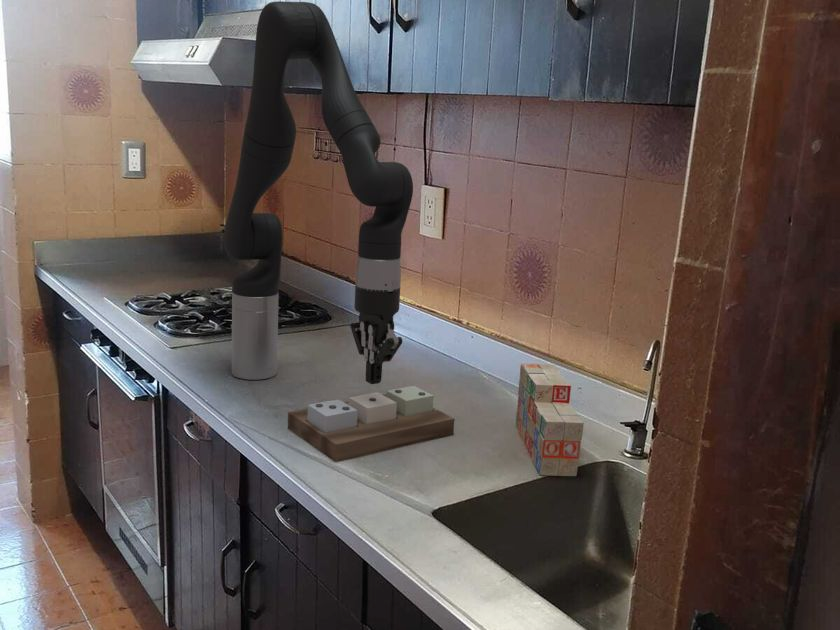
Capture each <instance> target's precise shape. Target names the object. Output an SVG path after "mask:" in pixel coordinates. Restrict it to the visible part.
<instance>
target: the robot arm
mask: <svg viewBox="0 0 840 630" xmlns="http://www.w3.org/2000/svg"><path fill="white" fill-rule="evenodd" d="M305 59H306V60H309V61H310V63H311V64H312V65H313V67H314V68H315V70H316V71H317V73H318V75H319V77H320V81H321V107H320V108H321V116H322V119H323V122H324V125H325V127H326V129H327V131H328V133H329V135H330V137H331V138H332V140H333V142H334V144H335V146H336V147H337V149H338V151H339V153H340V154H341V159H342V163H343V167H344V171H345V175H346V179H347V183H348V186H349V188H350V190H351V193H352V194H353V196H354V197H355V198H356V199H357V200H358V201H359V202H360V203H361V204H362V205H364V206H366V207H370V208H371V207H374V208H375V209H374V212H373V215H372V217H370V218H369V219H368V220H365V221H364V222H362V224H361V225H360V226H359V230H358V231H359V232H358V247H357V249H358V250H357V260H356V261H357V262H356V267H355V281H354V283H355V284H354V285H355V287H354V309H355V311H356V312H358V313H359V314H358V320H357V321H356V322H351V323H350V326H349V327H350V329H351V332H352V336H353V340H354V342H355V345H356V349H357V352H358V354H359V355H360V356H363V359H364V361H365V381H366V382H367V383H368V384H370V385H377V384H380V383H381V382H382V376H383V375H382V374H383V363H385V362H387V363H388V362H391V361H392V359H393V358H394V356H395V354H396V353H397V352H398V350H399V348H401V345H403V338H402V337H401V336H397V335H396V334H395V332H394V329H395V322H394V316H395V315H396V314H397V313H399V311H400V301H401V299H400V298H401V283H402V282H401V279H402V265H401V264H402V263H401V254H402V252H401V251H402V234H403V229H404V227H405V224H406V221H407V217H408V214H409V211H410V207H411V204H412V199H413V194H414V193H413V192H414V182H413V178H412V174H411V171H410V170H409V169H408V168H407V166H406V165H404V164H403V163H401V162H396V161H379V160H378V159H377V157H376V155H375V153H377V151H378V150H379V149H380V147H381V142H382V141H381V137H380V134H379V132H378V130H377V128H376V126H375V125H374V123H373V121H372V119H371V118H370V116H369V114H368V112H367V111H366V109H365V107H364V105H363V104H362V102H361V100H360V98H359V97H358V95H357V92H356V90H355V88H354V85H353V83H352V80H351V78H350V74H349V72H348V70H347V67H346V63H345V61H344V58H343V56H342V53H341V50H340V48H339V45H338V42H337V39H336V37H335V35H334V32H333V29H332V27H331V24H330V22H329V19H328V18H327V16H326V15H325V12H324V11H323V10H322V8H321V7H320V6H319V5H317V4H315V3H313V2H307V1H283V0H282V1H281V0H280V1H279V0H278V1H270V2H269V3H266V5H264V6H263V8H262V9H261V12H260V13H259V17H258V21H257V25H256V33H255V47H254V62H253V76H252V85H251V91H250V96H249V97H250V99H249V105H248V111H247V117H246V122H245V125H244V130H243V136H242V143H241V150H240V158H239V162H238V163H239V164H238V171H237V177H236V182H235V185H234V186H235V187H234V192H233V194H232V198H231V202H230V206H229V209H228V212H227V215H226V216H227V217H226V221H225V225H224V233H223V247H224V251H225V253H226V255H227V256H228V257H229V258H230V259H233V260H236V261H237V260H240V261H248V260H249V261H250V260H251V261H253V260H257V261H258V262H257V263H256V264H255V266H253V267H252V268H251V269H249V270H248V271H245V272H243V273H241V274H238V275H236V276H234V278H233V279H232V283H231V309H232V310H231V375H232V376H233V377H236V378H239V379H242V380H251V381H252V380H257V381H258V380H266V379H270V378H273V377H275V376H276V375H277V373H278V343H279V341H278V336H279V335H278V334H279V332H278V330H279V293H280V292H279V289H280V287H279V286H280V281H281V273H282V272H281V270H282V269H281V268H282V267H281V266H282V253H283V240H284V237H283V236H284V235H283V234H284V233H283V225H282V222H281V220H280V218H279V216H278V215H277V214H275V213H271V212H254V211H255V209H256V207H257V205H258V203H259V201H260V200H261V198H262V197H263V196H264V195H265V193H267V192H268V190H270V188H272V187H273V185H274V184H275V183H276V182H277V181H278V180H279V179H280V178H281V177H282V175H283V174H284V173H285V172H286V170H287V169H288V168H289V166H290V163H291V162H292V161H291V160H292V156H293V153H294V148H295V142H296V136H297V126H296V122H295V118H294V115H293V113H292V110H291V109H290V106H289V104H288V101H287V99H286V96H285V92H284V91H285V90H284V81H285V73H286V67H287V64H288V61H290V60H305Z"/></svg>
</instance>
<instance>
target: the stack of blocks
mask: <svg viewBox="0 0 840 630" xmlns="http://www.w3.org/2000/svg"><path fill="white" fill-rule="evenodd" d="M519 370H520V371H519V380H518V381H519V382H518V390H517V394H518V395H517V396H518V397H517V408H516V414H515V415H516V416H515V417H516V418H515V428H516V430H517V432H518V435H519V437H520V439H521V441H522V443H523V446H524V447H525V448H526V451H527V452H528V454H529V455H530V458H531V462H532V463H533V465H534V467H535V469H536V471H537V473H538V475H539V476H549V477H550V476H551V477H553V476H555V477H556V476H559V477H577V474H578V468H579V466H578V465H579V459H580V451H581V445H582V444H581V441H582V439H583V433H584V432H583V431H584V425H585V424H584V421H583V420H582V418H581V417H580V416H579V414H578V412H577V411H576V410H575V408H574V407H573V406H572V404H571V403H570V399H571V389H572V384H570V383H569V382H568V380H566V378H565V377H564V376H563V374H562V373H561V372H560V370H559V369H558V368H557V366H556V365H555V364H547V363H546V364H545V363H537V364H536V363H520V369H519Z"/></svg>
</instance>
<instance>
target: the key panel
mask: <svg viewBox="0 0 840 630" xmlns="http://www.w3.org/2000/svg"><path fill="white" fill-rule="evenodd" d="M382 395H383V396H385V397H386V395H387V393H384V394H382ZM348 401H349V400H346V401H343V402H344V403H346V404H348ZM307 418H308V408H303V409H297V410H292V411H288V412H287V429H288V430H289V431H291V432H292V433H293V434H295V435H296V436H298V437H299V438H300V439H302V440H303V441H305V442H306V443H308V444H309V445H310V446H312V447H314V448H315V449H316V450H317V451H319V452H321V453H322V454H323V455H325V456H326V457H328V458H329V459H330V460H331V461H333V462H334V463H338V462H342V461H346V460H351V459H355V458H359V457H363V456H368V455H371V454H376V453H380V452H386V451H389V450H394V449H398V448H402V447H406V446H409V445H414V444H419V443H424V442H428V441H433V440H436V439H440V438H445V437H450V436H454V433H455V431H454V429H455V418H454V417H452V416H450V415H448V414H447V413H444V412H442V411H441V410H439V409H437V408H435V407H433V411H431V412H426V413H422V414H417V415H412V416H407V417H404V416H402V415H401V414H399V413H397V412H396V419H393V420H388V421H383V422H378V423H373V424H368V425H366V424H364V423H362V422H361V421H359V420H357V427H354V428H349V429H344V430H339V431H335V432H330V433H323V432H322V431H320V430H319V429H317V428H316V427H314V426H313V425H311V424H310V423H308V422H307Z"/></svg>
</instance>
